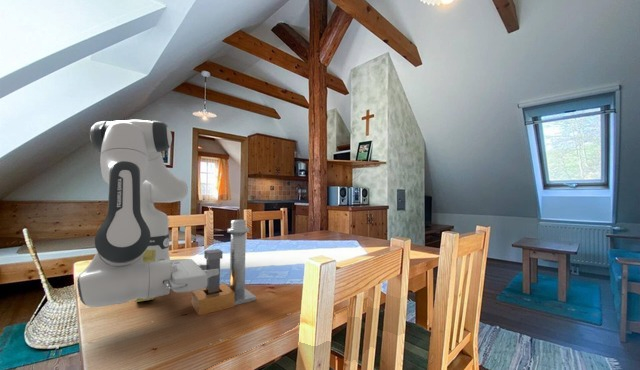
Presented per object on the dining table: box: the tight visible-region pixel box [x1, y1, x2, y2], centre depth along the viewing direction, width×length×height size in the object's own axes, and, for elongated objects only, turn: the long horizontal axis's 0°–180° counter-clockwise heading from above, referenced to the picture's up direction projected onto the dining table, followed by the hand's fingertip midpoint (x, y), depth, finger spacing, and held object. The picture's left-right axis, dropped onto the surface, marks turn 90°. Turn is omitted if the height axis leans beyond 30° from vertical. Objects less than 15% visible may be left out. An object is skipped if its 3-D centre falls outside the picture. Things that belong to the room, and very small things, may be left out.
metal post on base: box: [190, 219, 257, 316], centre depth 79 cm, size 16×10×24 cm, turn 127°
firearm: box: [134, 249, 156, 303], centre depth 85 cm, size 4×30×15 cm, turn 30°
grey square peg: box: [203, 248, 224, 295], centre depth 76 cm, size 4×4×12 cm
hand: (216, 269), depth 77 cm, fingers closed on grey square peg, 3 cm apart
